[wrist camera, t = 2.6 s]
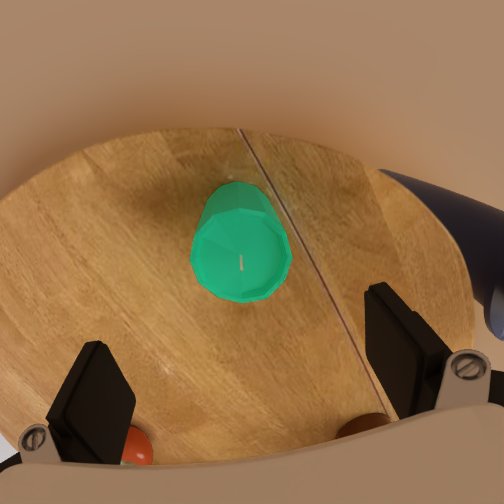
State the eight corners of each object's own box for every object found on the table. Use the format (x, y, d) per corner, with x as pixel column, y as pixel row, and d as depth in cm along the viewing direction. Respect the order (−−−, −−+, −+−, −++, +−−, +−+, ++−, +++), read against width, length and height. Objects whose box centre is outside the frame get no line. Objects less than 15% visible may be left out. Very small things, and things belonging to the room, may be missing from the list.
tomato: (121, 446, 40) (111, 486, 33) (99, 416, 37) (84, 459, 30) (164, 446, 40) (157, 489, 32) (144, 415, 37) (133, 462, 30)
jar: (394, 403, 39) (421, 455, 30) (389, 438, 43) (409, 485, 33) (332, 422, 40) (349, 480, 30) (333, 455, 43) (347, 505, 33)
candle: (284, 225, 29) (315, 284, 18) (227, 258, 30) (224, 333, 19) (250, 168, 27) (262, 193, 16) (191, 204, 28) (164, 252, 17)
